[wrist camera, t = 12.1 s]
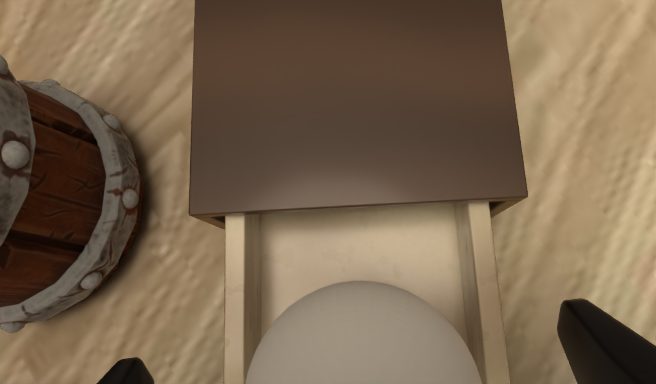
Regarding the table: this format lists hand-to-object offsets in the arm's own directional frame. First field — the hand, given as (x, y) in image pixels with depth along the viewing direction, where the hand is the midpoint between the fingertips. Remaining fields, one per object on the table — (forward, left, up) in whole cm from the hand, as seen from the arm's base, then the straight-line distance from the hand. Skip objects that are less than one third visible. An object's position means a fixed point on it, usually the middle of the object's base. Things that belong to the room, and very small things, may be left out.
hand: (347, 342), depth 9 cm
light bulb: (-2, 0, -9) cm, 9 cm away
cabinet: (+12, -2, -11) cm, 17 cm away
